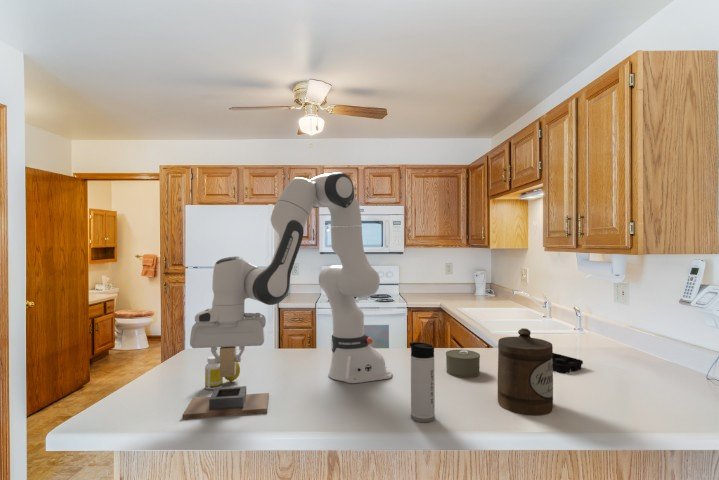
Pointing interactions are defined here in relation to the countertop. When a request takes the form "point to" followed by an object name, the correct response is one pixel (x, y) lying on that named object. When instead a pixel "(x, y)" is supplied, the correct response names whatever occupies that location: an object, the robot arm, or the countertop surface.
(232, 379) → the lemon
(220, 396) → the collar
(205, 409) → the dock board
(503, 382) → the wooden container
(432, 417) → the travel mug
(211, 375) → the supplement bottle
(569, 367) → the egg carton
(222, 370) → the square bar
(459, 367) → the can
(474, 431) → the countertop surface
